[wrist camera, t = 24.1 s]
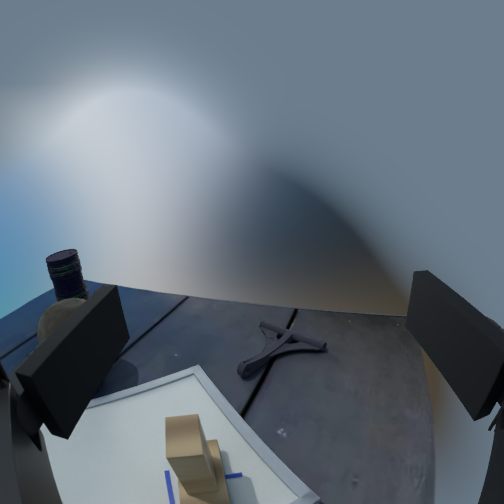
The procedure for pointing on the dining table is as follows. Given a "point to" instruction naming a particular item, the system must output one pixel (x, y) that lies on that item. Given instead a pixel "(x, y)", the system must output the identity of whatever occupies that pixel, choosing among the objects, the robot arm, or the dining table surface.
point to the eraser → (195, 462)
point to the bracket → (278, 347)
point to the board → (163, 448)
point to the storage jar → (67, 275)
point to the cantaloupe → (56, 316)
